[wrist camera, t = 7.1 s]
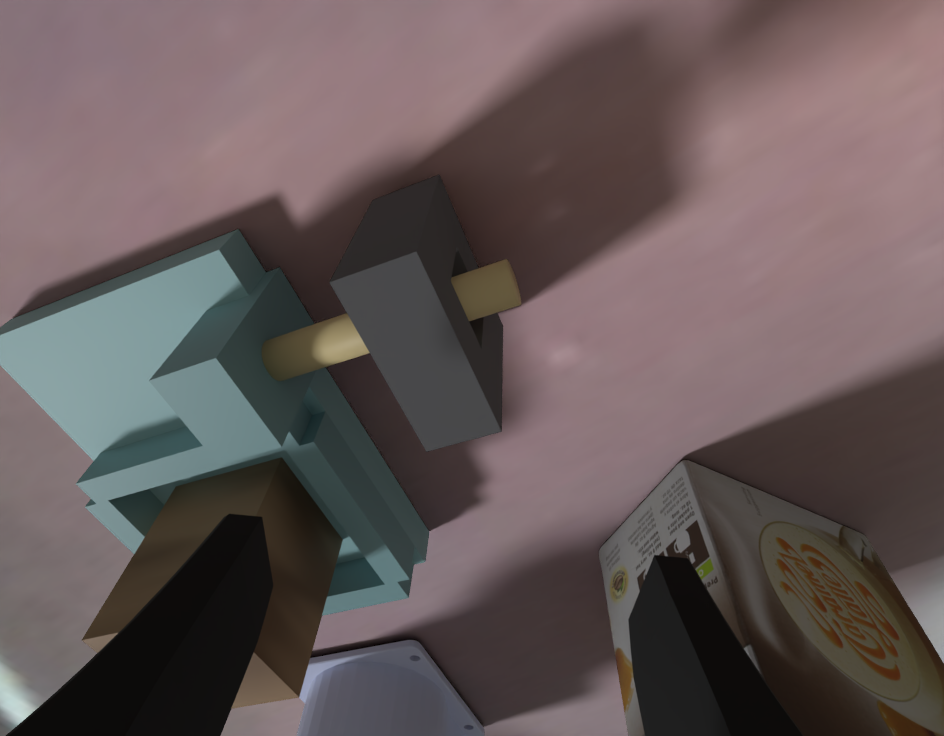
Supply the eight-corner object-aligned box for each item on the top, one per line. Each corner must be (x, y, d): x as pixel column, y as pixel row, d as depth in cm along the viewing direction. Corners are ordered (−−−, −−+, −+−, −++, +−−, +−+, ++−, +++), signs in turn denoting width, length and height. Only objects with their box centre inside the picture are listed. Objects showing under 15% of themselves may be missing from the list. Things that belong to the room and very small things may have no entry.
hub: (503, 326, 19) (501, 431, 15) (443, 344, 20) (426, 451, 15) (439, 174, 16) (416, 251, 12) (372, 200, 17) (329, 282, 13)
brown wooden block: (342, 539, 24) (299, 697, 19) (243, 562, 25) (177, 717, 20) (281, 457, 21) (213, 612, 16) (175, 486, 22) (81, 640, 17)
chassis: (608, 490, 23) (629, 606, 19) (245, 574, 28) (200, 685, 23) (475, 134, 16) (463, 199, 12) (11, 319, 20) (-116, 414, 16)
